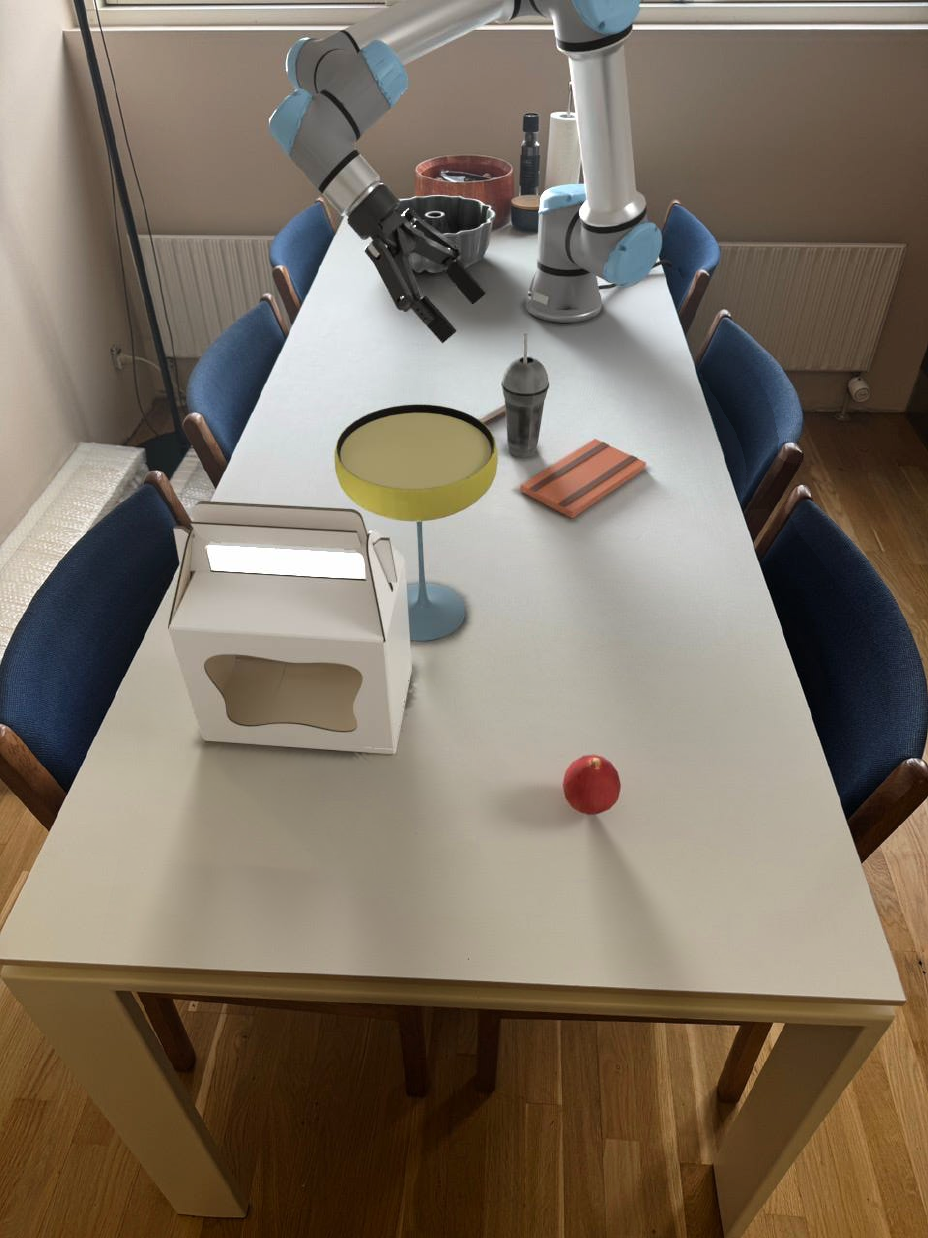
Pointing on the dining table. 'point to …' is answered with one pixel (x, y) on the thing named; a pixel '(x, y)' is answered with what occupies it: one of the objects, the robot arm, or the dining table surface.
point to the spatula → (493, 415)
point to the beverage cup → (524, 403)
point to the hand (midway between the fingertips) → (465, 317)
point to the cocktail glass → (418, 485)
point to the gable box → (292, 628)
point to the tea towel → (583, 477)
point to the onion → (591, 784)
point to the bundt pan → (453, 226)
